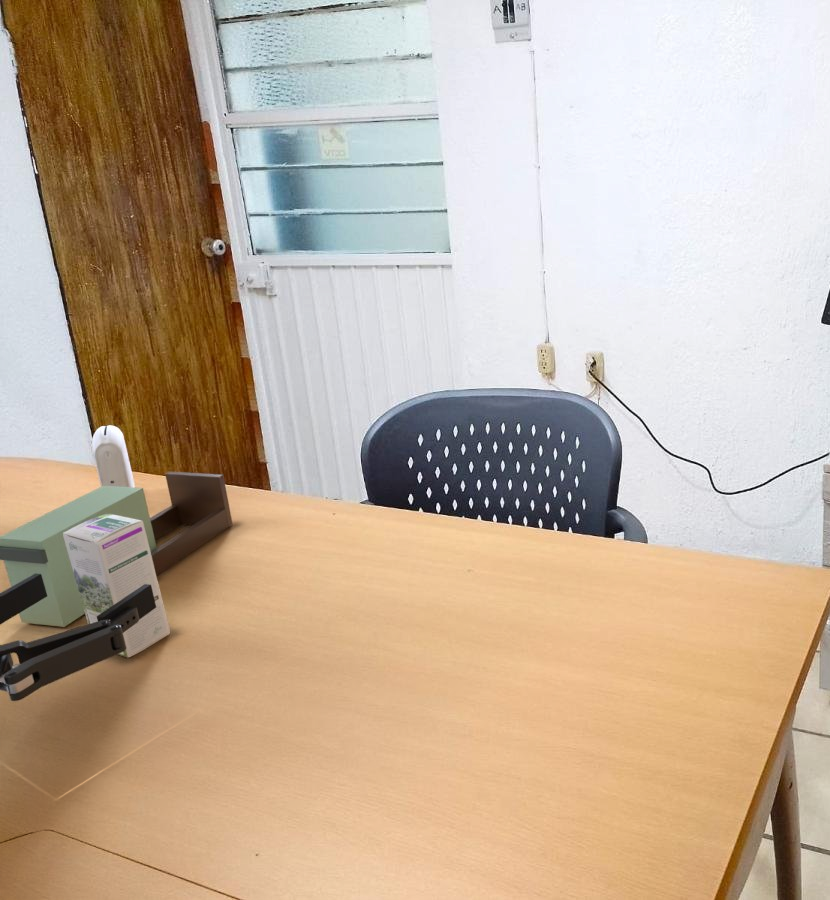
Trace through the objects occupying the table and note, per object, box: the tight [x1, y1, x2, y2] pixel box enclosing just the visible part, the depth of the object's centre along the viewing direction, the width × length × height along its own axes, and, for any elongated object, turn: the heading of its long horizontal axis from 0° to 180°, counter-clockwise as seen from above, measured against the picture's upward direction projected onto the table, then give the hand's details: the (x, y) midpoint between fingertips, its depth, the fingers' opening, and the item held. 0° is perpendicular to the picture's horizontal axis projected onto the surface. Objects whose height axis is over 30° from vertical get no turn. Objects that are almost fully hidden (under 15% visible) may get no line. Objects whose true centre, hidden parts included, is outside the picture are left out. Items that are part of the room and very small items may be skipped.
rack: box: [150, 471, 234, 577], centre depth 115 cm, size 9×17×8 cm, turn 168°
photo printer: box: [91, 424, 136, 488], centre depth 130 cm, size 10×4×12 cm, turn 28°
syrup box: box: [63, 514, 171, 658], centre depth 91 cm, size 6×6×14 cm
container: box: [0, 486, 158, 628], centre depth 102 cm, size 6×16×11 cm, turn 168°
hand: (95, 590), depth 88 cm, fingers open, 13 cm apart
